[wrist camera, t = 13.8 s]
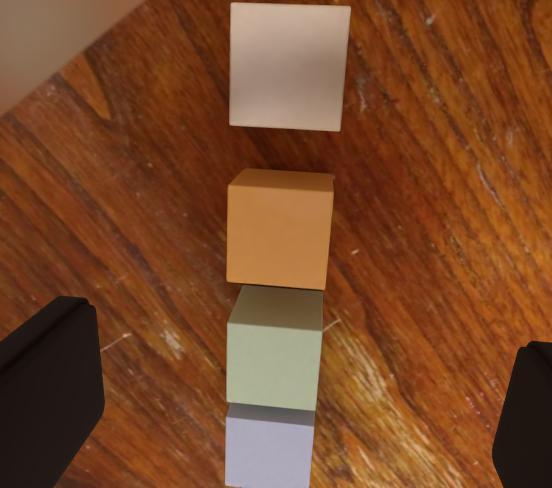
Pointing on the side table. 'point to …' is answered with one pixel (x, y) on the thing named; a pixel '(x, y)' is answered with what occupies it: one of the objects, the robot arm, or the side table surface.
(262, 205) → the orange cube
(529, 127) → the side table surface
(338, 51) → the block
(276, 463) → the block
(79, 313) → the robot arm
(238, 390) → the block
